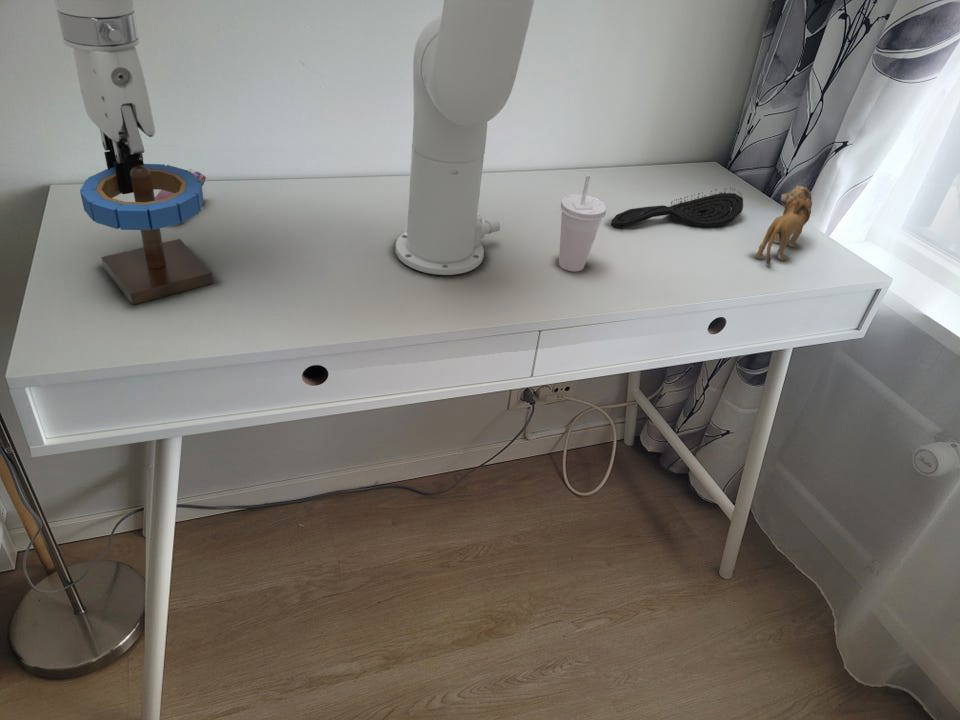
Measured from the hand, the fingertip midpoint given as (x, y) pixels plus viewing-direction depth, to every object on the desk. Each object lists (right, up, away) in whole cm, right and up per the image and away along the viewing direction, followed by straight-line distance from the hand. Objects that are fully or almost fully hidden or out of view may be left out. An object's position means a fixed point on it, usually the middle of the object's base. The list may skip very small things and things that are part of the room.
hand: (129, 185), depth 92 cm
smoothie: (+56, -8, +17) cm, 59 cm away
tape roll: (+3, -3, -3) cm, 5 cm away
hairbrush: (+76, +2, +33) cm, 83 cm away
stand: (+2, -11, +3) cm, 11 cm away
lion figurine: (+91, -4, +28) cm, 95 cm away
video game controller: (-1, 0, +17) cm, 17 cm away
